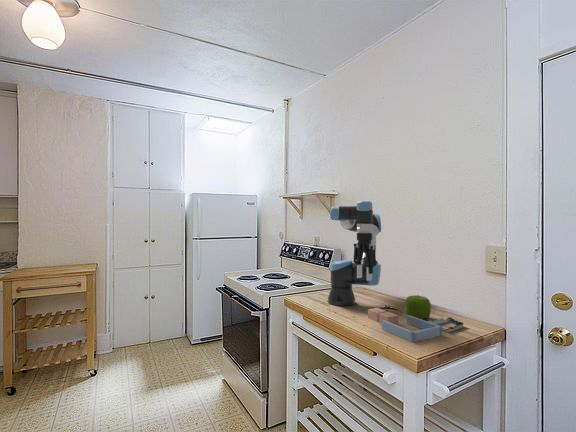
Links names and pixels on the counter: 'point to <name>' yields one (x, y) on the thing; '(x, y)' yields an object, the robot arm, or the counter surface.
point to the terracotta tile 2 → (388, 317)
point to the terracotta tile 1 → (375, 313)
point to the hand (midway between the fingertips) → (364, 278)
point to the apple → (418, 306)
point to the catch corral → (427, 331)
